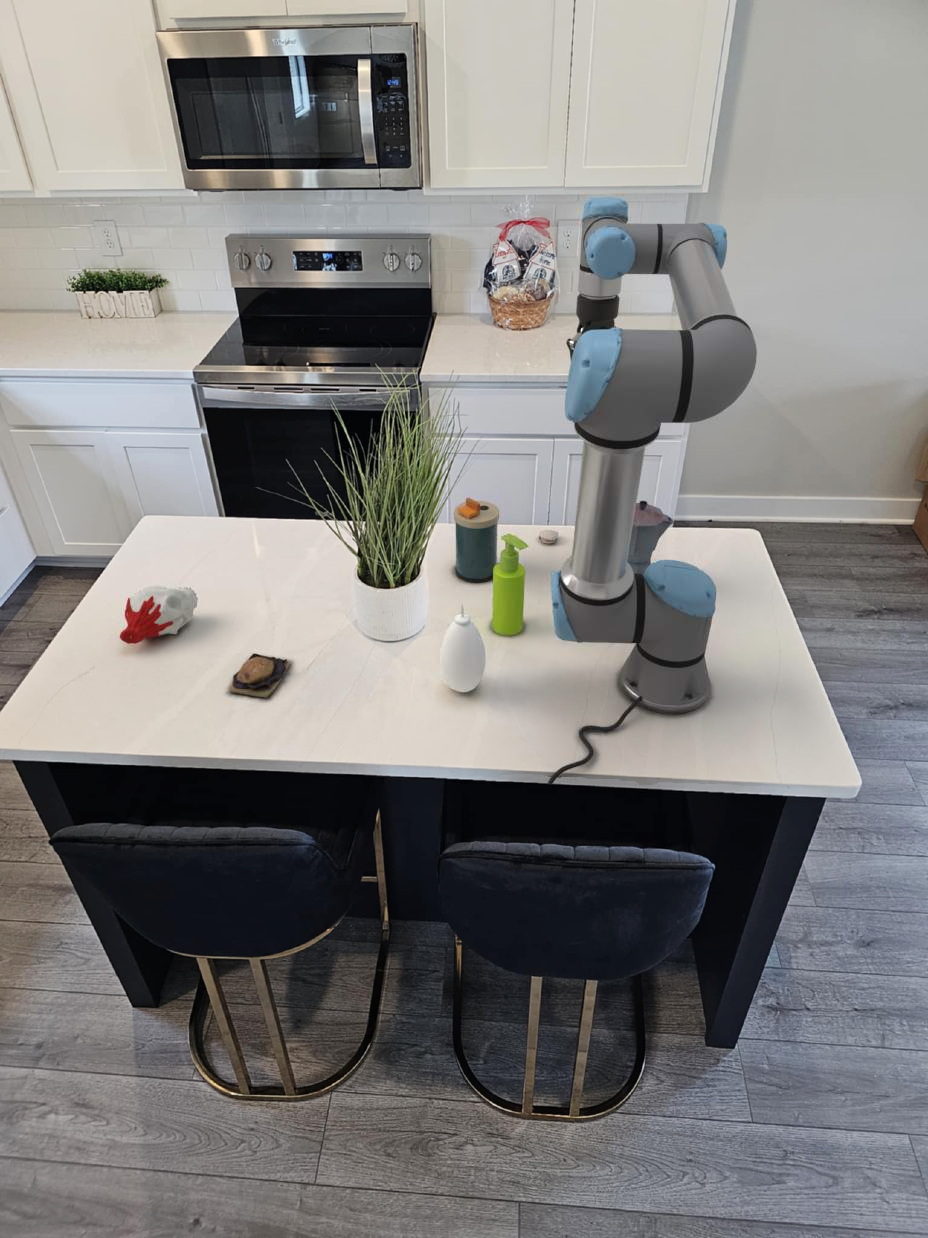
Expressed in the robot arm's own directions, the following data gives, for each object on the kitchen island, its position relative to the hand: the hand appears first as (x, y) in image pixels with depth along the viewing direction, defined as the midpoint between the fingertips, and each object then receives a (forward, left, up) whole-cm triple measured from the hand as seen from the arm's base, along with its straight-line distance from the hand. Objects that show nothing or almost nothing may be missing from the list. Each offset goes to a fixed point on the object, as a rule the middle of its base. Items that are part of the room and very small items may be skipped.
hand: (588, 419), depth 165 cm
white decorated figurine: (-53, +69, -33) cm, 93 cm away
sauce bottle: (-48, +8, -33) cm, 59 cm away
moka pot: (-6, -12, -33) cm, 35 cm away
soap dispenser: (-28, +6, -33) cm, 43 cm away
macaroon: (+7, +8, -33) cm, 34 cm away
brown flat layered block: (-58, +43, -33) cm, 79 cm away
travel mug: (-11, +19, -32) cm, 39 cm away
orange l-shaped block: (-13, +20, -18) cm, 30 cm away
